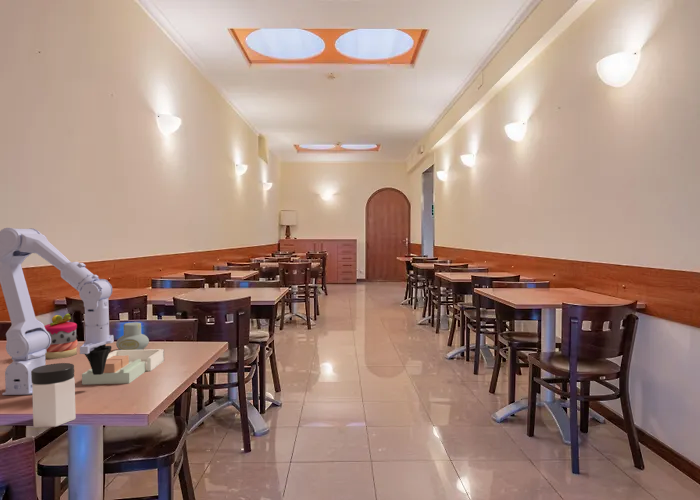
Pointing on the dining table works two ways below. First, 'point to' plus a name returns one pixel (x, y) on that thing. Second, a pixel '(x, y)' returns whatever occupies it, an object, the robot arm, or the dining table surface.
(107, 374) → the two-ridged green plate
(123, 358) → the tile
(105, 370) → the tile
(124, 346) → the air freshener
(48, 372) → the jar
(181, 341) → the dining table surface
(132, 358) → the box
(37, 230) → the robot arm
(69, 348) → the cake
